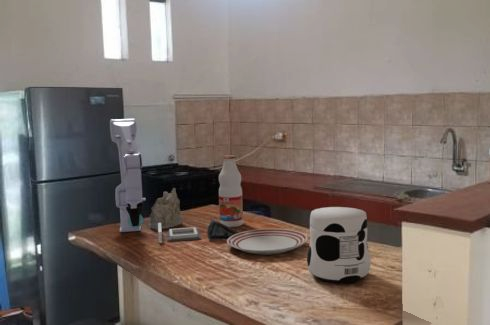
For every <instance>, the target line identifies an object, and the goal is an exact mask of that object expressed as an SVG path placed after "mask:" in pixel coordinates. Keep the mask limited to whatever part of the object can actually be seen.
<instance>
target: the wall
mask: <svg viewBox="0 0 490 325" xmlns="http://www.w3.org/2000/svg"><path fill="white" fill-rule="evenodd" d="M162 230H163V229H161V223H158V229H157V231H158V232H157V234H158V244H163V234H162Z"/></svg>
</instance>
